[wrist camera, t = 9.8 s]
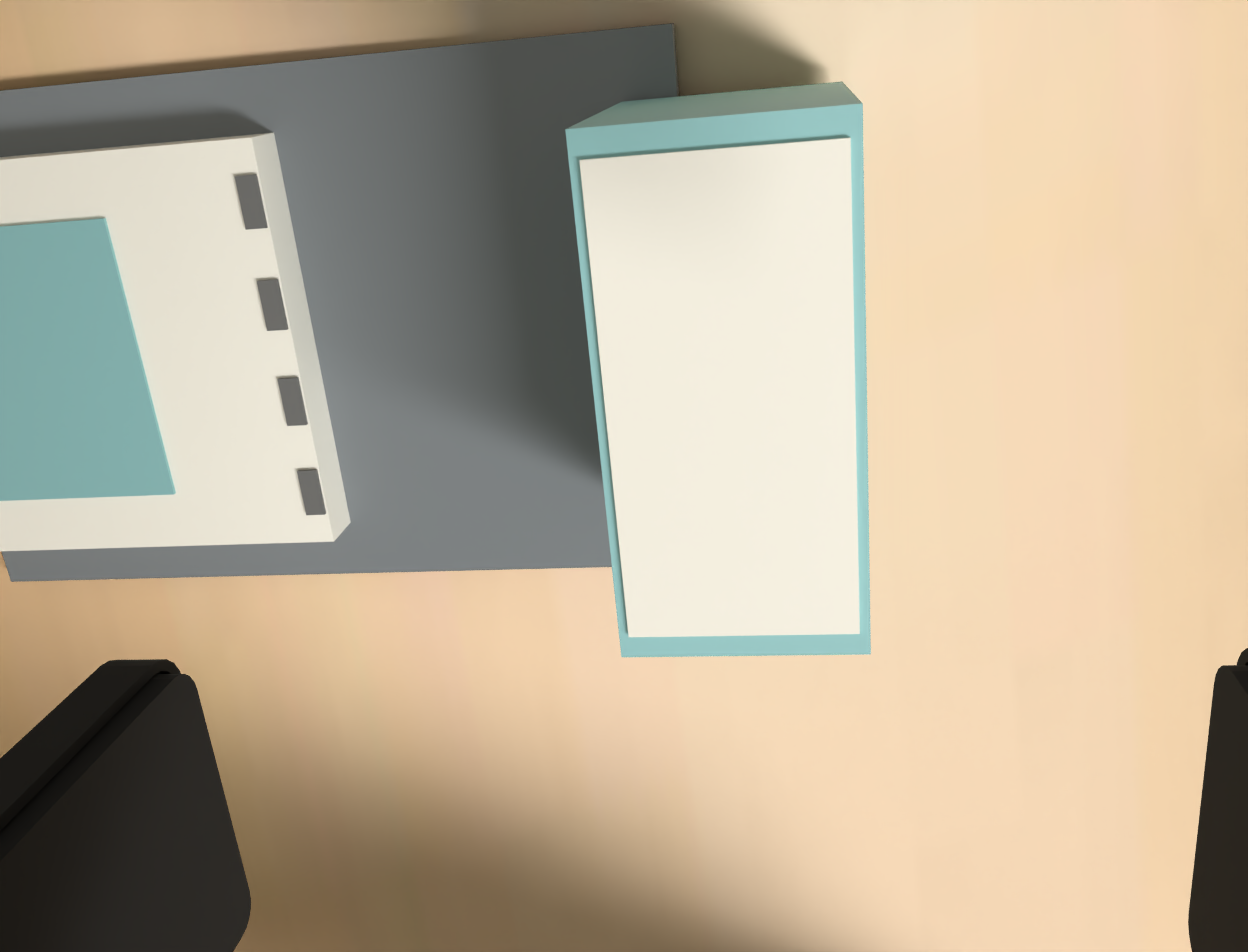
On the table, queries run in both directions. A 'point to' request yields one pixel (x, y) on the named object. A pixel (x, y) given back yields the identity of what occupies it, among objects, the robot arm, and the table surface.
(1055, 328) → the table surface
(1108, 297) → the table surface
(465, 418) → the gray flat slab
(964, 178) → the table surface
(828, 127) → the teal rectangular block
